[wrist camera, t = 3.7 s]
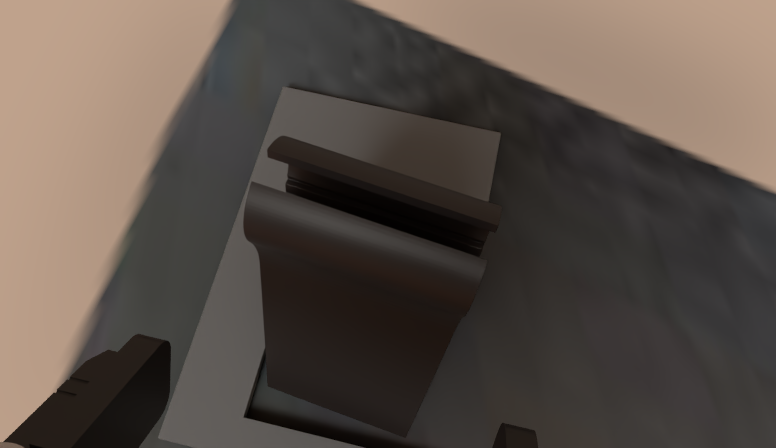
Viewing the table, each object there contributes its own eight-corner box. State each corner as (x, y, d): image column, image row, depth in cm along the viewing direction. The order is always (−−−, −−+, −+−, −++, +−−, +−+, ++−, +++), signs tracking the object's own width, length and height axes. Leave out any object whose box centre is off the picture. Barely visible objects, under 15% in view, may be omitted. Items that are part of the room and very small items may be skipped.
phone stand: (346, 200, 27) (327, 24, 15) (468, 241, 26) (541, 91, 15) (268, 386, 23) (172, 337, 12) (404, 438, 23) (434, 437, 12)
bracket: (498, 138, 28) (501, 133, 27) (430, 507, 22) (432, 508, 21) (284, 92, 29) (283, 86, 28) (162, 438, 23) (157, 438, 22)
